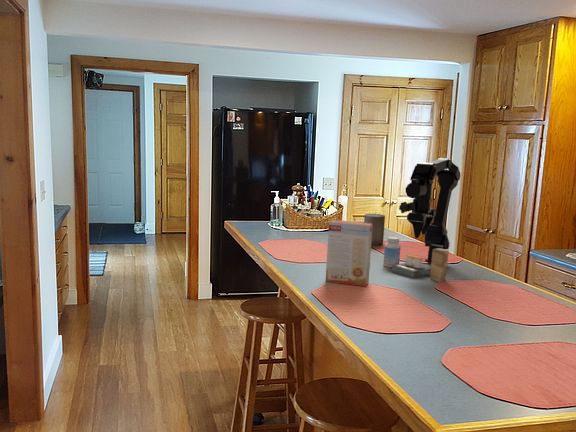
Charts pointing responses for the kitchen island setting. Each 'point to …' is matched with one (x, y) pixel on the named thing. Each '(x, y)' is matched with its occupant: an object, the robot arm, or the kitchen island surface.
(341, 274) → the cracker box
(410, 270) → the breaker panel
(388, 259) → the pill bottle
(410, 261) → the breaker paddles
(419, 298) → the kitchen island surface
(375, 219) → the pillar candle
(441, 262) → the oak post
